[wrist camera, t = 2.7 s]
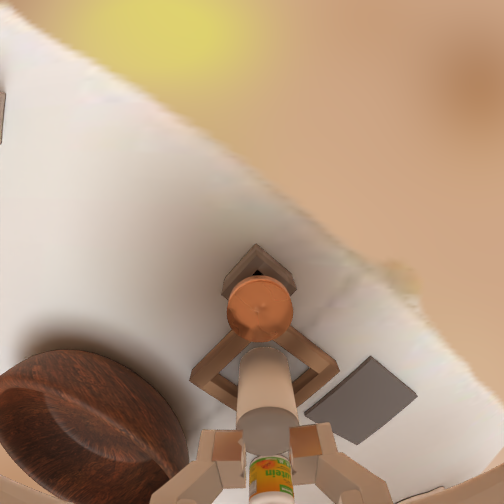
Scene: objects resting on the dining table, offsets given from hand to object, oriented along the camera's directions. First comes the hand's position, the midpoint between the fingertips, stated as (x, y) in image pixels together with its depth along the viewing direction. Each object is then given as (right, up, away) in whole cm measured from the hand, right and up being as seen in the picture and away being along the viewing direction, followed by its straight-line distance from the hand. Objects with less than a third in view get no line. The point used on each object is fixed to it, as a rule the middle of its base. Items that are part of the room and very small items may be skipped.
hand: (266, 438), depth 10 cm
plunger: (0, +4, +16) cm, 16 cm away
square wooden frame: (+1, -2, +20) cm, 20 cm away
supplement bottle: (+2, -21, +25) cm, 33 cm away
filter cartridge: (+1, -5, +21) cm, 22 cm away
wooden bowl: (-19, -14, +24) cm, 33 cm away
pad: (+12, -11, +23) cm, 28 cm away
